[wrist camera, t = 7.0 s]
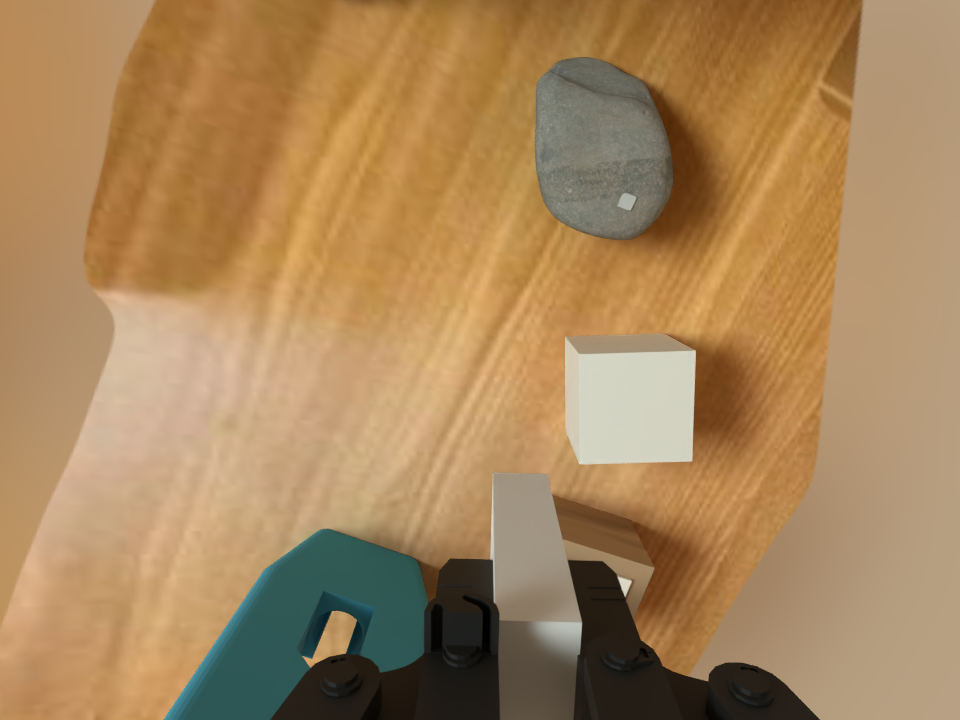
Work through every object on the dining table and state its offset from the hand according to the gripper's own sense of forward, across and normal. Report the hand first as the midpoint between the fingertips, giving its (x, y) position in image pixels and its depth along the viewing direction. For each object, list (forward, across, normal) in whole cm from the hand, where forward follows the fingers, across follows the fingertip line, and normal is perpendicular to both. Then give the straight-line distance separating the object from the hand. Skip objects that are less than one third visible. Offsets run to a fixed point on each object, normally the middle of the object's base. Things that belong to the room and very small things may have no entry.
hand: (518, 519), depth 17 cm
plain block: (+28, +8, -3) cm, 29 cm away
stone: (+28, +6, +13) cm, 32 cm away
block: (+28, -10, -18) cm, 35 cm away
